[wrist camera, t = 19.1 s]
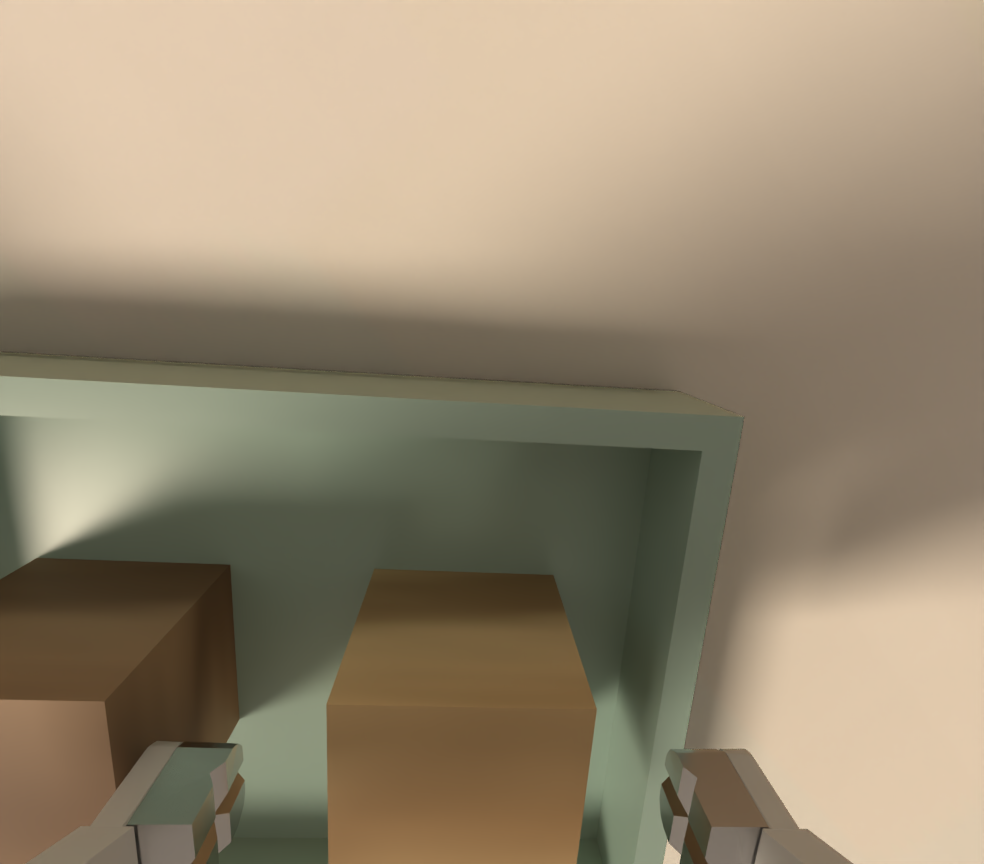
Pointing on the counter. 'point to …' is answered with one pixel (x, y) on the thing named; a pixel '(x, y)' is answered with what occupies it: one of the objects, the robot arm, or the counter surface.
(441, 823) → the oak block
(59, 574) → the walnut block
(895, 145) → the counter surface
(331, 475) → the tray
